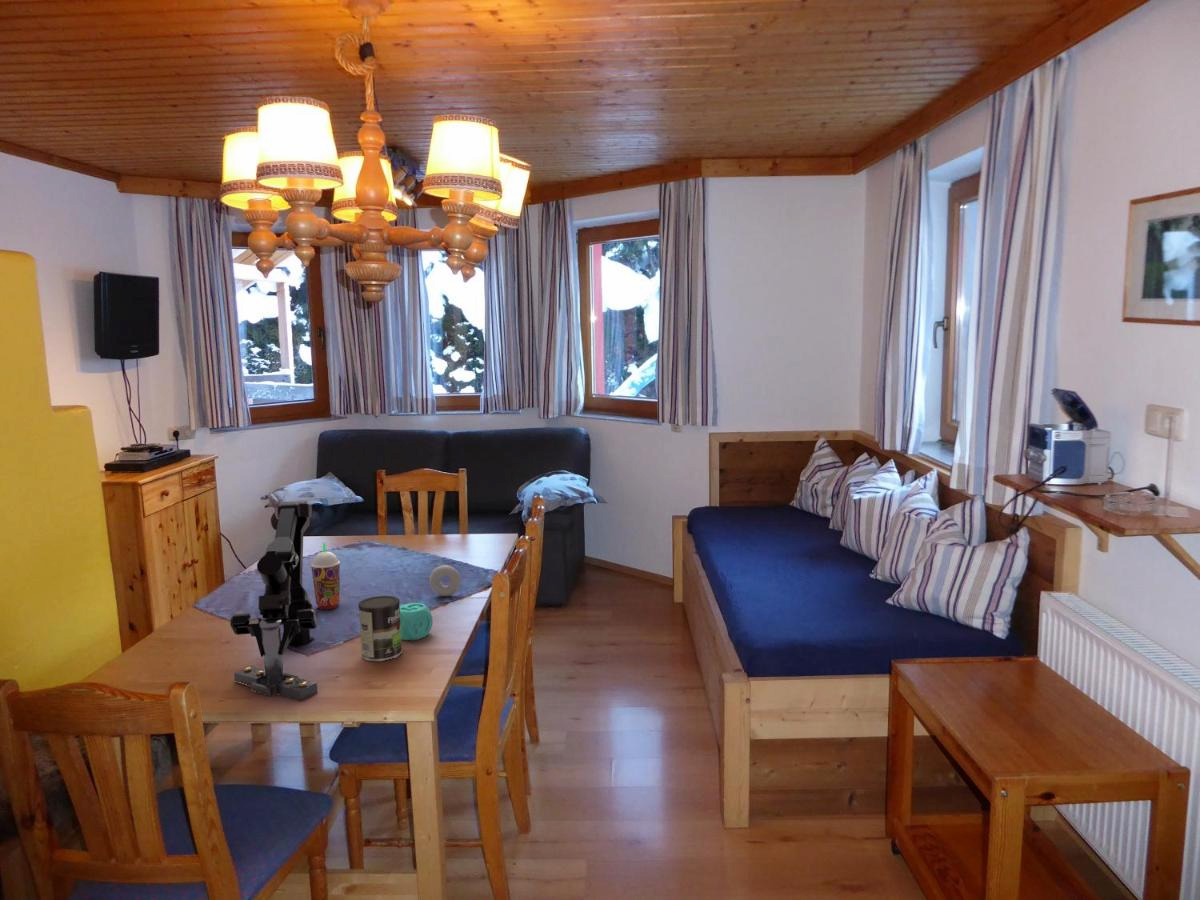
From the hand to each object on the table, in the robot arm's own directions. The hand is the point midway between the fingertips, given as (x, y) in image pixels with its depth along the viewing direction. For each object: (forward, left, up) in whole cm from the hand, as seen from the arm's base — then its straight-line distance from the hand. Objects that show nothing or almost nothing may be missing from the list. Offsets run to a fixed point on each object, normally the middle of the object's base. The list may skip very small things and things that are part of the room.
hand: (271, 655), depth 197 cm
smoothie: (-35, +49, -9) cm, 61 cm away
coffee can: (+7, +28, -9) cm, 30 cm away
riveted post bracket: (-1, +1, -8) cm, 9 cm away
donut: (-9, +73, -9) cm, 74 cm away
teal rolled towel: (+5, +42, -9) cm, 43 cm away
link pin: (-1, +1, -7) cm, 7 cm away
